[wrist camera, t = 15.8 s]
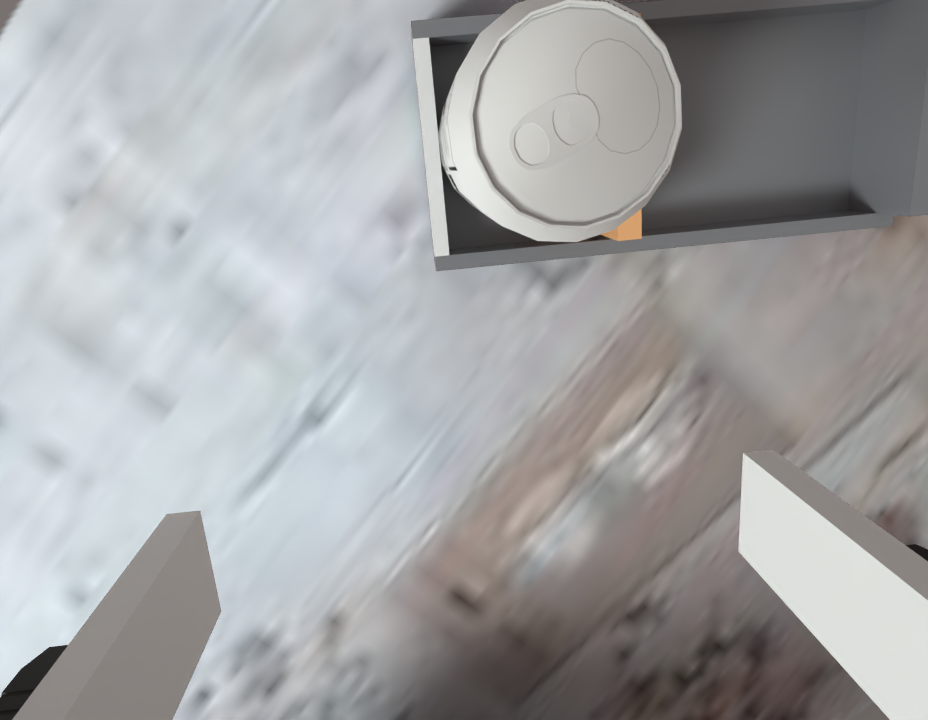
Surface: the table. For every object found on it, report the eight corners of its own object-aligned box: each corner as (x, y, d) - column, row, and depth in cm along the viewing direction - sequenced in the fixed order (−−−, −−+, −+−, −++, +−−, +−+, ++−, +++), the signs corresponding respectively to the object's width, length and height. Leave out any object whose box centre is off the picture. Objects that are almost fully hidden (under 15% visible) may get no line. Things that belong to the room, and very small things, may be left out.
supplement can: (545, 29, 33) (641, -77, 19) (608, 173, 36) (735, 176, 21) (410, 105, 34) (404, 58, 20) (481, 242, 36) (521, 289, 22)
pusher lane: (851, 220, 39) (926, 230, 33) (434, 262, 38) (437, 278, 32) (872, -4, 35) (960, -36, 30) (411, 35, 34) (410, 8, 29)
